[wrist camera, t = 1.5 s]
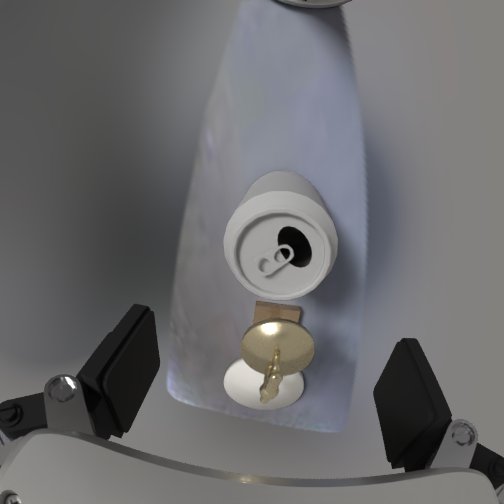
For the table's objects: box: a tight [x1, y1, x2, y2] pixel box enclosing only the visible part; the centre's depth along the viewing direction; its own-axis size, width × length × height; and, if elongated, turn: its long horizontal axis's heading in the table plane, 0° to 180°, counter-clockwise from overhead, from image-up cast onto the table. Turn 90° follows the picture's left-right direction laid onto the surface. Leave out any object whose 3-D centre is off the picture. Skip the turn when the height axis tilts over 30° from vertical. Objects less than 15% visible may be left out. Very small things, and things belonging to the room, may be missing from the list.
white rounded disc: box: [224, 358, 304, 410], centre depth 38 cm, size 11×11×1 cm
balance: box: [240, 301, 315, 404], centre depth 27 cm, size 14×6×14 cm, turn 175°
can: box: [224, 171, 338, 301], centre depth 23 cm, size 8×8×12 cm
